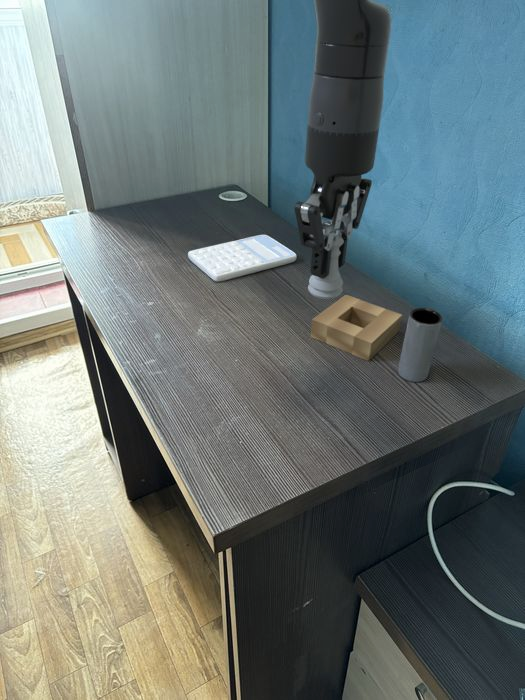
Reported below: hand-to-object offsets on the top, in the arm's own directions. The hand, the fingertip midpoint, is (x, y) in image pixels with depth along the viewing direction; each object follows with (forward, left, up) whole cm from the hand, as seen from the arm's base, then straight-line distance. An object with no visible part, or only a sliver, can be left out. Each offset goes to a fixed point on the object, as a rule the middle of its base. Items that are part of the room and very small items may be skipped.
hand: (327, 269), depth 64 cm
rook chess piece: (0, 0, -3) cm, 3 cm away
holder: (+3, -17, -19) cm, 26 cm away
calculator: (+36, -27, -20) cm, 49 cm away
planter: (-9, -13, -20) cm, 25 cm away
